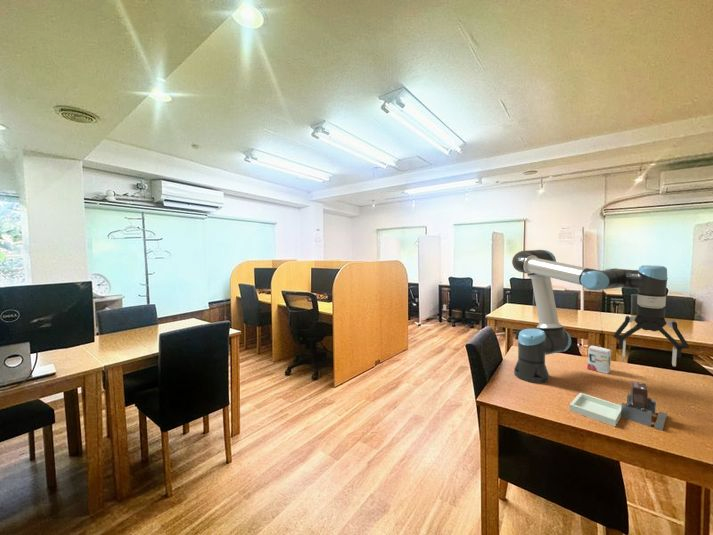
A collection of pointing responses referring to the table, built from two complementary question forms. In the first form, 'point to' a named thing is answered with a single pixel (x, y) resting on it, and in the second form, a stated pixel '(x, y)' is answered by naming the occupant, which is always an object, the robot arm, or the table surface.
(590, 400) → the tray
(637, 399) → the box
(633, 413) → the hitch bracket
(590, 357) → the ink box
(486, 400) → the table surface
